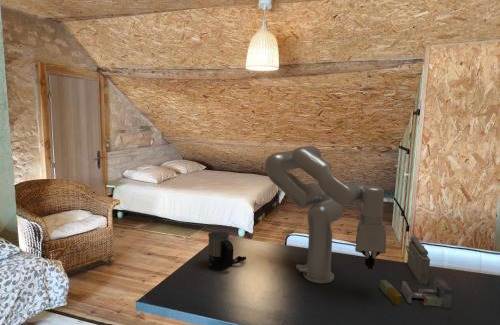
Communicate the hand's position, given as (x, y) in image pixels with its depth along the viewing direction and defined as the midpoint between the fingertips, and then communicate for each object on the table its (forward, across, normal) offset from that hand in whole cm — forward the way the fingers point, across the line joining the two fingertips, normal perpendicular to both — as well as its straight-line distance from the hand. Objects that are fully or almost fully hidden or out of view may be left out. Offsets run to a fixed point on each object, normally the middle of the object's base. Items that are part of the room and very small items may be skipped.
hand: (369, 267), depth 124 cm
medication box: (+12, +8, +1) cm, 14 cm away
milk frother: (+10, -58, +15) cm, 60 cm away
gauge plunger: (+11, +19, 0) cm, 22 cm away
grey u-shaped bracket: (+12, +24, +1) cm, 26 cm away
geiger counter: (+12, +24, +26) cm, 37 cm away
